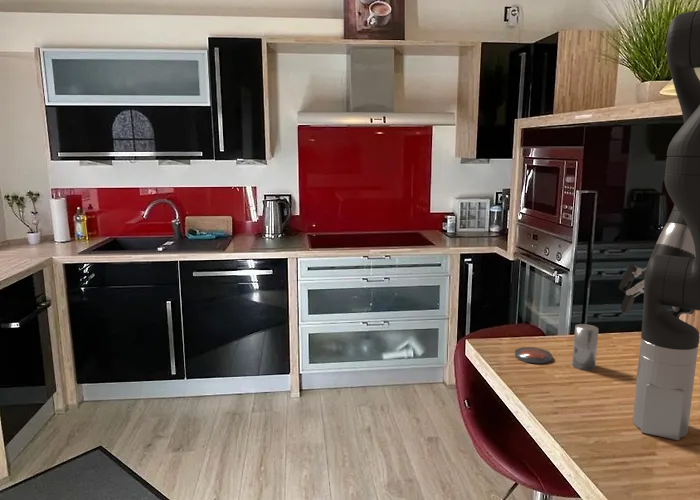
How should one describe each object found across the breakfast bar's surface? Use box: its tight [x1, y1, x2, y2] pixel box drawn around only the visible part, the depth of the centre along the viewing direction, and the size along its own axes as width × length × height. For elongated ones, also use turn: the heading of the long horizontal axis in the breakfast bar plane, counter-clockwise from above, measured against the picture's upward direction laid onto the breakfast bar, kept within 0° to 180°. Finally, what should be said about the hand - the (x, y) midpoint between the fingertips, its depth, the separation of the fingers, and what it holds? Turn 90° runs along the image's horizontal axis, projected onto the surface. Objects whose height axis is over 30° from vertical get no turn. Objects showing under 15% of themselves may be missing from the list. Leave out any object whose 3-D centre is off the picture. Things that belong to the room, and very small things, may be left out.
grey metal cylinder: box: [571, 323, 599, 371], centre depth 129 cm, size 5×5×10 cm
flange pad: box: [514, 346, 553, 365], centre depth 135 cm, size 9×9×1 cm
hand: (645, 321), depth 109 cm, fingers open, 8 cm apart
